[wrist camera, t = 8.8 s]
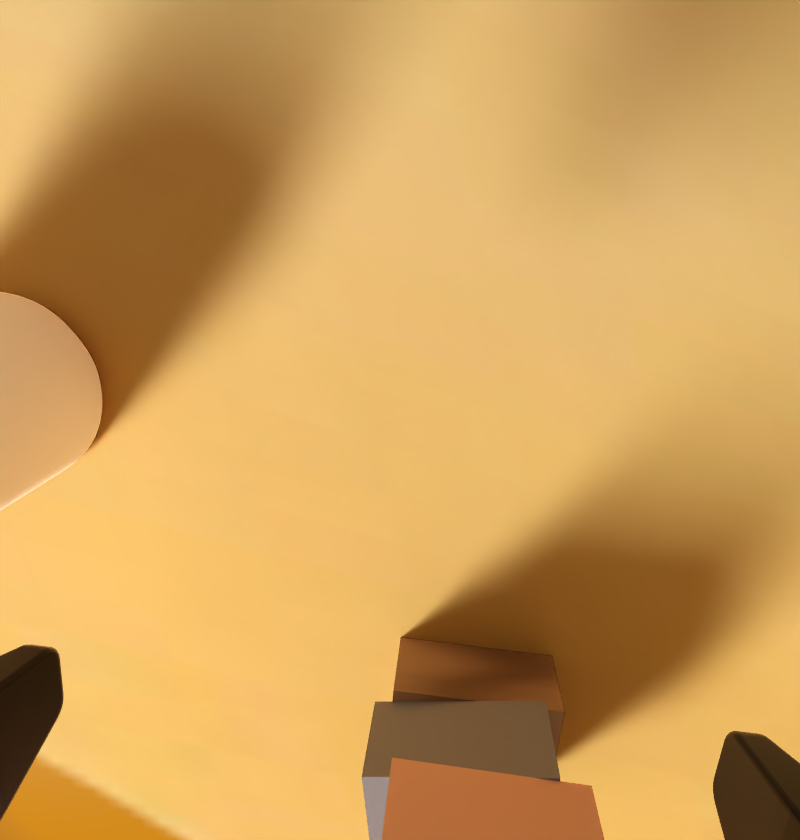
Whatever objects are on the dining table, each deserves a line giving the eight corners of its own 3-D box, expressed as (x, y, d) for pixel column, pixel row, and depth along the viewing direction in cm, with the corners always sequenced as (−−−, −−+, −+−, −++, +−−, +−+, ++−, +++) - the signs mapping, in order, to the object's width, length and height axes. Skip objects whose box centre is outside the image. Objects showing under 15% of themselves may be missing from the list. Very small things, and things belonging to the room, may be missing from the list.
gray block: (546, 700, 20) (560, 777, 17) (549, 834, 22) (562, 925, 19) (375, 701, 21) (361, 776, 18) (390, 831, 22) (379, 920, 20)
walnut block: (551, 652, 23) (564, 712, 20) (530, 771, 25) (540, 842, 22) (401, 634, 24) (393, 690, 21) (390, 753, 25) (381, 820, 22)
